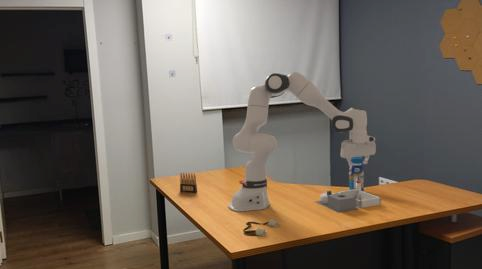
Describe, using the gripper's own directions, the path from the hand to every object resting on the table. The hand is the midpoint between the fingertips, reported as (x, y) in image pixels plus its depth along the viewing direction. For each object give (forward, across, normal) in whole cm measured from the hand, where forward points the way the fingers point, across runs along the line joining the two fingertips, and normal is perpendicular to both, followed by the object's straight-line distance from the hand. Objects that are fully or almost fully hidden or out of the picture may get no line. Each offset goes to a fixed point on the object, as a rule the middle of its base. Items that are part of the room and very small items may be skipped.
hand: (358, 164), depth 243 cm
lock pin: (+20, 0, -1) cm, 20 cm away
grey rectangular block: (+21, -14, 0) cm, 25 cm away
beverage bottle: (+21, +15, +21) cm, 34 cm away
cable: (+22, -63, -9) cm, 67 cm away
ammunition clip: (+21, -71, +71) cm, 103 cm away
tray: (+21, 0, 0) cm, 21 cm away
